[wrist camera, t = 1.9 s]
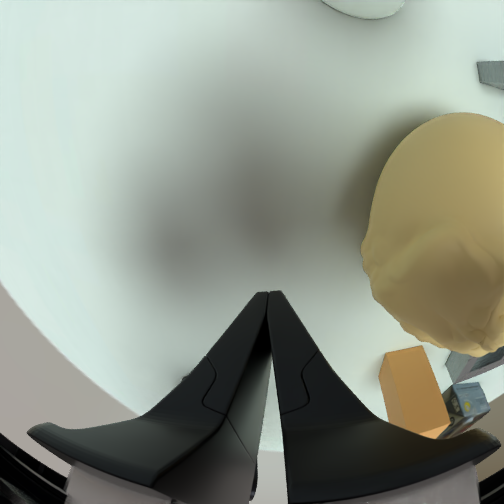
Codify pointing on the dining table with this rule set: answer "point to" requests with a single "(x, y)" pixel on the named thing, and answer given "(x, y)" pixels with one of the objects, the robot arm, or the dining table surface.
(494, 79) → the grey flat openwork piece
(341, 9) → the beer glass
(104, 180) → the dining table surface
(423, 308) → the sculpture
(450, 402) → the beverage carton
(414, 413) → the orange rectangular block
